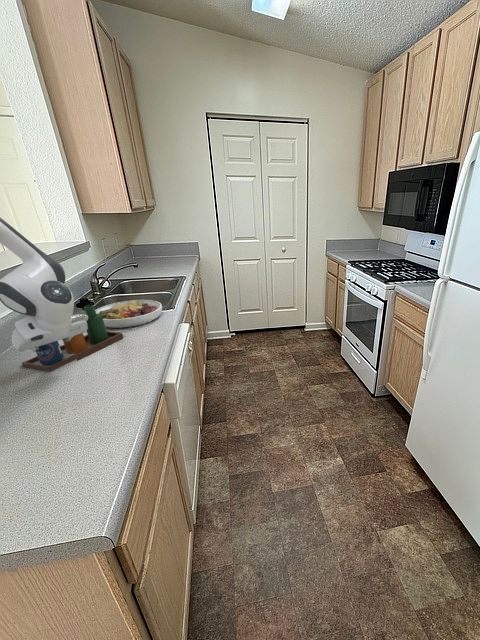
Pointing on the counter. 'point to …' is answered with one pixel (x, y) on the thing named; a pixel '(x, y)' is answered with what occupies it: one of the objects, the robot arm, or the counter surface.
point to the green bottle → (95, 326)
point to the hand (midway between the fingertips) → (51, 344)
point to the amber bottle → (75, 344)
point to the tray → (90, 350)
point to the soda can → (49, 353)
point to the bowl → (129, 313)
